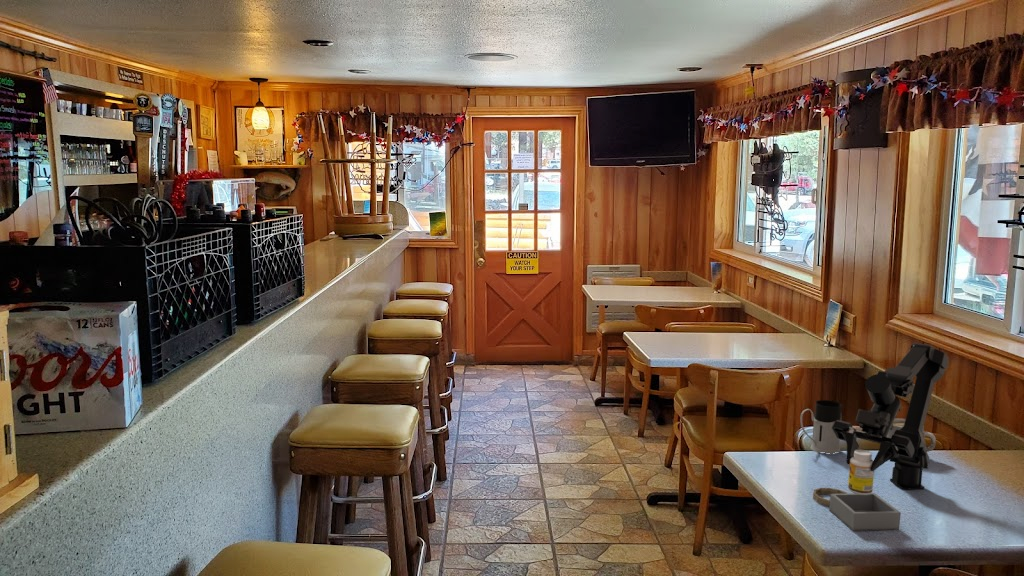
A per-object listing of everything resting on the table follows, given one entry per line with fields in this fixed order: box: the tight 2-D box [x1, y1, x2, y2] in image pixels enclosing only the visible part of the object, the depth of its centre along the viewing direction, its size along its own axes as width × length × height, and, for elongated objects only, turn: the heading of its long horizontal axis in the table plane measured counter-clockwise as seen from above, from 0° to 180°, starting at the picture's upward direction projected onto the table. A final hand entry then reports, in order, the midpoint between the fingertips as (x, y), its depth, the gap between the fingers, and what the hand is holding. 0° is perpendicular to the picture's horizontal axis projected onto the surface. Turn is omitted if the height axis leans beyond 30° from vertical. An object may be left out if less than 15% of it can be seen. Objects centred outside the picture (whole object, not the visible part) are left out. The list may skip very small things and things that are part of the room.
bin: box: [829, 492, 902, 532], centre depth 187 cm, size 12×12×4 cm
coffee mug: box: [887, 418, 937, 453], centre depth 232 cm, size 13×10×10 cm
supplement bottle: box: [847, 449, 875, 495], centre depth 188 cm, size 6×6×10 cm
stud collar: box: [812, 487, 848, 508], centre depth 199 cm, size 9×9×2 cm
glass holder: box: [799, 399, 843, 454], centre depth 236 cm, size 9×14×15 cm, turn 107°
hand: (859, 466), depth 187 cm, fingers closed on supplement bottle, 5 cm apart
